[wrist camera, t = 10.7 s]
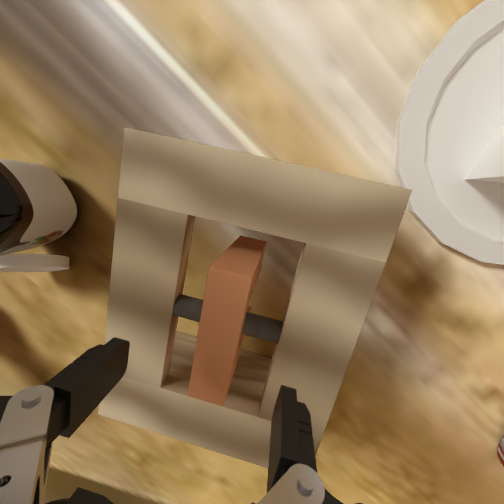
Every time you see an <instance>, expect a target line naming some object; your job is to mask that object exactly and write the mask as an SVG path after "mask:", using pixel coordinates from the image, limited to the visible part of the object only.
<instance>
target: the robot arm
mask: <svg viewBox="0 0 504 504" xmlns="http://www.w3.org/2000/svg"><path fill="white" fill-rule="evenodd" d="M129 347H130V342H129V341H127V340H124V339H120V338H116V337H114V338H112V339H111V340H110V341H108V342H107V343H106V344H105V345H101V344H100V345H97V346H95V347H93V348H90V349H88V350H87V351H86V352H85V353H83V354H82V355H81V356H80V357H79V358H77V359H76V360H75V361H73V363H71V364H69V365H68V366H67V367H66V368H64V369H63V370H62V371H61V372H59V373H58V374H57V375H56V376H54V377H53V378H52V379H51V380H49V381H48V382H47V383H45V384H44V385H36V386H31V387H28V388H25V389H23V390H21V391H19V392H18V393H16V394H15V395H14V396H0V504H43V503H44V494H45V487H46V481H47V475H48V469H49V463H50V456H51V450H52V442H53V441H54V440H55V439H56V438H57V437H58V436H59V435H61V436H64V437H67V438H69V437H70V436H71V435H72V434H73V433H74V432H75V431H76V429H77V428H78V427H79V426H80V425H81V424H82V423H83V422H84V420H85V419H86V418H87V417H88V416H89V415H90V414H91V413H92V411H93V410H94V409H95V408H96V407H97V406H98V405H99V404H100V402H101V401H102V400H103V399H104V398H105V397H106V396H107V395H108V393H109V392H110V391H111V390H112V389H113V388H114V387H115V386H116V384H117V383H118V382H119V381H120V380H121V379H122V377H123V376H124V374H125V372H126V369H127V365H128V356H129ZM311 425H312V423H311V414H310V412H309V410H308V408H307V406H306V404H305V403H301V402H298V401H297V391H296V389H294V388H291V387H287V386H284V385H281V387H280V390H279V393H278V397H277V400H276V403H275V407H274V410H273V415H272V421H271V435H270V451H269V466H268V482H267V494H266V495H265V496H264V497H263V498H262V500H261V501H260V502H259V503H258V504H343V503H342V502H340V501H339V500H337V499H336V498H334V497H333V496H332V495H331V494H330V493H329V492H328V491H327V490H326V489H325V488H324V485H323V482H322V480H321V478H320V477H319V475H318V474H317V468H316V459H315V450H314V441H313V436H312V434H313V432H312V427H311ZM46 504H113V503H112V502H111V501H110V500H108V499H107V498H106V497H105V496H103V495H100V494H97V493H94V492H91V491H88V490H85V489H82V488H79V487H78V488H77V489H76V491H75V492H74V493H73V495H72V496H71V498H66V499H59V500H56V501H51V502H48V503H46ZM251 504H255V503H251ZM356 504H362V503H356Z"/></svg>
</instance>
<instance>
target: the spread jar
mask: <svg viewBox="0 0 504 504" xmlns="http://www.w3.org/2000/svg"><path fill="white" fill-rule="evenodd" d="M78 216H79V208H78V204H77V201H76V199H75V196H74V194H73V193H72V191H71V189H70V188H69V187H68V185H67V184H66V183H65V182H64V180H63V179H62V178H61V177H60V176H59V175H57V174H56V173H55V172H54V171H52V170H51V169H50V168H48V167H46V166H43V165H40V164H36V163H30V162H24V161H16V160H8V159H0V272H46V271H59V270H66V269H69V257H67V256H61V255H50V254H11V255H5V254H10V253H14V252H19V251H24V250H28V249H31V248H35V247H39V246H41V245H44V244H47V243H50V242H52V241H54V240H56V239H58V238H60V237H62V236H64V235H65V234H67V233H68V232H69V231H71V229H72V228H73V227H74V226H75V224H76V222H77V220H78Z"/></svg>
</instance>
